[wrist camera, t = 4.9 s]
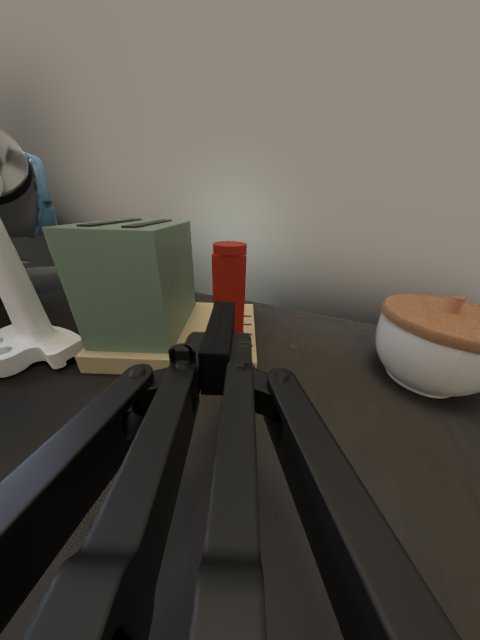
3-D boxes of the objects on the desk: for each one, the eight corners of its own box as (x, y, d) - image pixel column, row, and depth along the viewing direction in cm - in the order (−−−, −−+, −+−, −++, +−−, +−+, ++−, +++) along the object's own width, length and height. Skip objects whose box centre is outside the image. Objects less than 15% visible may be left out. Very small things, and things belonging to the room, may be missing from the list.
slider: (243, 352, 23) (247, 246, 18) (213, 351, 23) (209, 245, 18) (243, 337, 26) (247, 241, 21) (216, 336, 26) (214, 240, 21)
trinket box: (464, 365, 26) (511, 290, 22) (509, 440, 18) (599, 341, 13) (364, 340, 31) (386, 274, 26) (361, 390, 22) (393, 304, 18)
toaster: (256, 379, 23) (267, 233, 16) (80, 373, 23) (22, 225, 17) (252, 314, 37) (257, 220, 31) (142, 310, 37) (124, 216, 31)
